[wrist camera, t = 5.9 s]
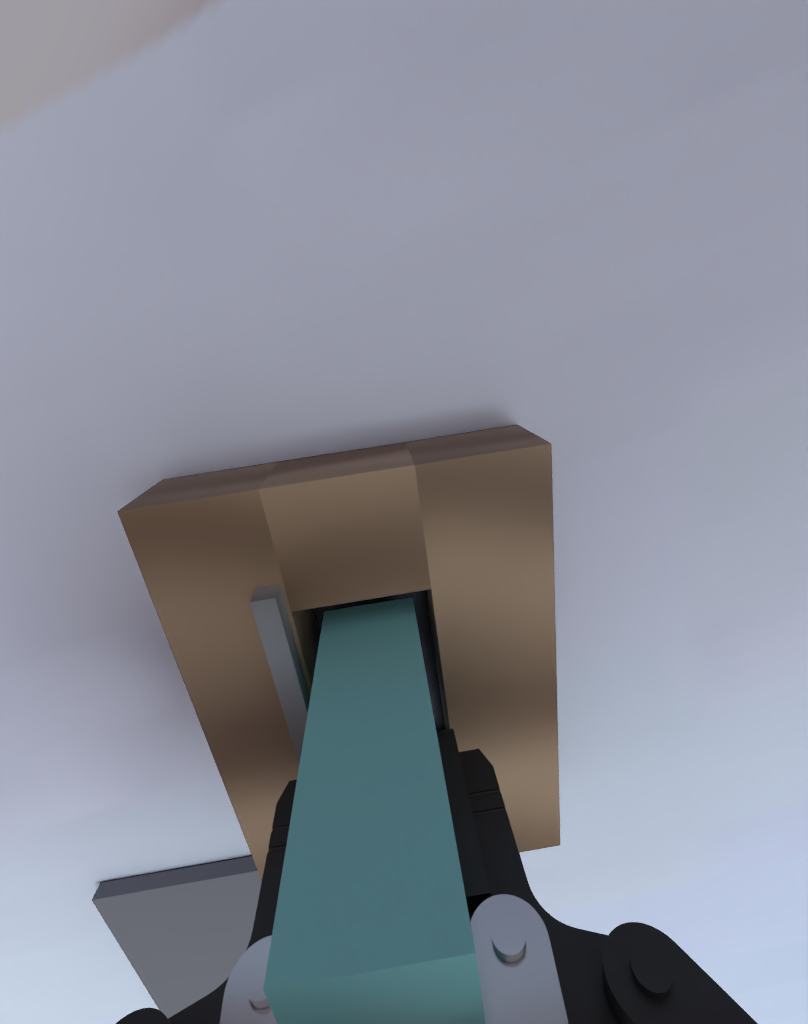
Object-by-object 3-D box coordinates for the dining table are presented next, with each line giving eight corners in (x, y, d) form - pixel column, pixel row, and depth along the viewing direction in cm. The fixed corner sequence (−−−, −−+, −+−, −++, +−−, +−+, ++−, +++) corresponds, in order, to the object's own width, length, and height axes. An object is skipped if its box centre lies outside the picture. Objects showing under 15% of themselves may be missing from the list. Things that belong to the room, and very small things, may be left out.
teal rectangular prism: (323, 611, 13) (263, 990, 5) (412, 596, 13) (474, 952, 5) (360, 767, 15) (354, 1196, 7) (436, 755, 15) (505, 1168, 7)
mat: (100, 882, 18) (91, 900, 18) (426, 825, 18) (428, 840, 18) (198, 1049, 23) (194, 1066, 22) (457, 1000, 23) (459, 1017, 22)
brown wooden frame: (162, 479, 13) (103, 520, 10) (517, 424, 13) (561, 449, 10) (280, 823, 18) (264, 918, 15) (535, 779, 18) (567, 864, 15)
